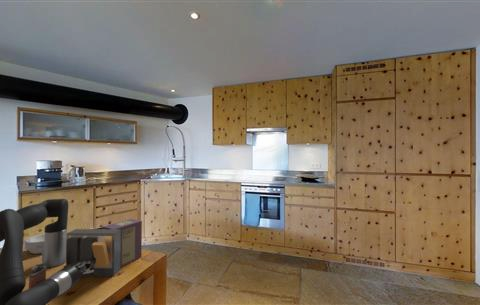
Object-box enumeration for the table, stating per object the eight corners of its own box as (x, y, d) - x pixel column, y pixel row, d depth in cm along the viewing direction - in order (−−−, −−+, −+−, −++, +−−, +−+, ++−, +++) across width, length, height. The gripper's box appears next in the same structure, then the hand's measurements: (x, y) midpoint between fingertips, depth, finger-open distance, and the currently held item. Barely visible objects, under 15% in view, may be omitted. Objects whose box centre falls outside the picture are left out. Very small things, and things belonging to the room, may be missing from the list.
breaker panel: (62, 278, 108) (63, 234, 109) (75, 269, 117) (75, 229, 117) (111, 279, 109) (111, 235, 109) (120, 270, 117) (120, 229, 117)
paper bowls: (18, 253, 135) (18, 239, 135) (48, 244, 149) (49, 231, 150) (34, 258, 130) (34, 243, 130) (64, 248, 144) (64, 234, 144)
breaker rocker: (96, 266, 108) (91, 245, 104) (99, 262, 111) (95, 240, 107) (107, 267, 108) (102, 245, 104) (110, 262, 111) (106, 241, 107)
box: (113, 270, 117) (113, 229, 117) (101, 266, 121) (102, 226, 121) (141, 257, 132) (141, 221, 132) (130, 253, 136) (130, 218, 136)
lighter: (40, 283, 105) (40, 260, 105) (48, 283, 105) (48, 260, 105) (25, 294, 97) (25, 269, 97) (34, 293, 97) (34, 269, 97)
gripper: (78, 272, 85) (109, 251, 102) (43, 270, 86) (79, 250, 103) (78, 293, 85) (108, 269, 102) (43, 291, 86) (79, 267, 103)
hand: (94, 259), depth 102 cm, fingers closed
